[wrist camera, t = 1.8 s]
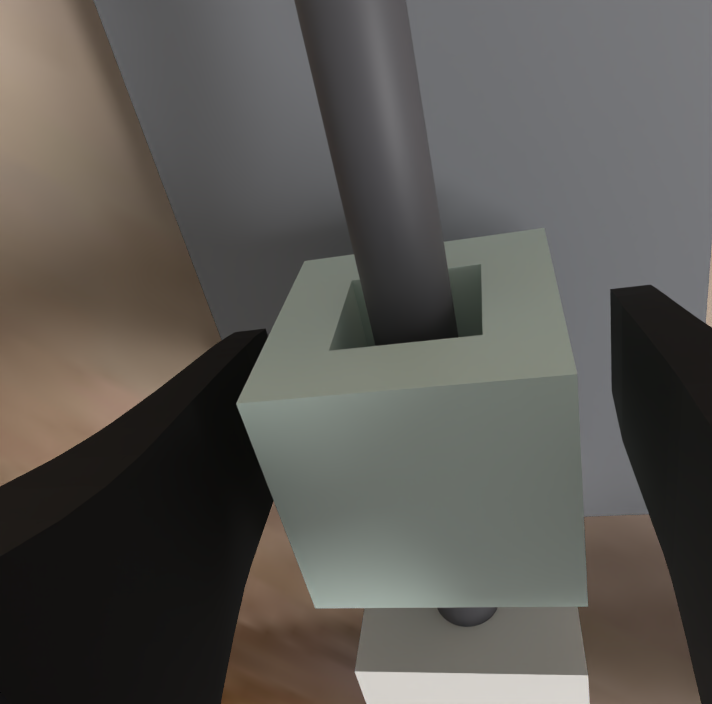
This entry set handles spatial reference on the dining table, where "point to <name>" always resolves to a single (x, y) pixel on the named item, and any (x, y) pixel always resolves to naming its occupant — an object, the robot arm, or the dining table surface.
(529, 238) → the marker sleeve
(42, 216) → the dining table surface
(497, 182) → the cord rig
